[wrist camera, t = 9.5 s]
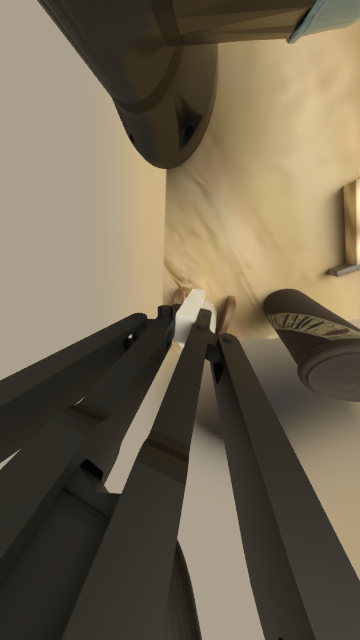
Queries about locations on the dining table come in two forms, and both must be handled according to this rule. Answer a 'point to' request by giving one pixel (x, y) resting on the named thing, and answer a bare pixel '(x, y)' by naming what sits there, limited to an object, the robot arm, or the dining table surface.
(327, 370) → the container
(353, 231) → the scraper
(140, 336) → the robot arm
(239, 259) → the dining table surface
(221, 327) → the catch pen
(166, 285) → the dining table surface
